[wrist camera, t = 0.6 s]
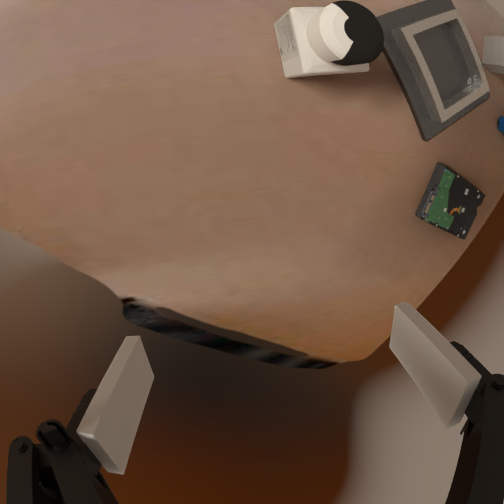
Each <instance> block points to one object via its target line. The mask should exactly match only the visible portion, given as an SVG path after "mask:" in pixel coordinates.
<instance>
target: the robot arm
mask: <svg viewBox="0 0 504 504" xmlns="http://www.w3.org/2000/svg"><path fill="white" fill-rule="evenodd" d="M389 347H390V349H391V350H392V351H393V353H394V354H395V355H396V357H397V358H398V360H399V361H400V362H401V364H402V365H403V367H404V368H405V369H406V371H407V372H408V373H409V375H410V376H411V378H412V379H413V380H414V382H415V383H416V385H417V386H418V388H419V389H420V390H421V392H422V393H423V395H424V396H425V398H426V399H427V401H428V402H429V404H430V405H431V407H432V408H433V410H434V411H435V412H436V414H437V415H438V417H439V418H440V420H441V422H442V423H443V424H444V426H445V428H446V429H447V428H449V427H452V426H454V425H456V424H458V423H460V421H461V419H462V417H463V415H464V413H465V414H466V416H467V417H468V419H467V421H466V423H465V425H464V427H463V428H462V430H461V432H460V434H462V433H463V432H464V436H463V441H462V446H461V451H460V455H459V459H458V463H457V467H456V471H455V474H454V478H453V482H452V484H451V488H450V491H449V494H448V497H447V500H446V503H445V504H503V500H504V375H501V374H493V375H492V374H491V373H490V372H489V371H488V370H487V369H486V368H485V367H484V366H483V365H482V364H481V363H480V362H479V361H478V360H477V359H476V358H474V356H473V355H472V354H471V353H469V351H468V350H467V349H466V348H465V347H464V346H463V345H461V344H459V343H457V342H455V341H453V342H450V343H449V342H448V341H447V340H446V339H445V338H444V337H443V336H442V335H441V334H440V333H439V332H438V331H437V330H436V329H435V328H434V327H433V326H432V325H431V324H430V323H429V322H428V321H427V320H426V319H425V318H424V317H423V316H422V315H421V314H420V313H419V312H417V311H416V310H415V309H414V308H413V307H412V306H411V305H410V304H409V303H408V302H403V303H399V304H395V309H394V317H393V325H392V332H391V339H390V345H389ZM153 379H154V375H153V372H152V370H151V367H150V364H149V361H148V359H147V356H146V353H145V350H144V347H143V344H142V341H141V338H140V336H126V338H125V340H124V342H123V343H122V345H121V347H120V349H119V350H118V352H117V354H116V356H115V358H114V359H113V361H112V363H111V365H110V367H109V368H108V371H107V372H106V374H105V376H104V378H103V380H102V381H101V384H100V385H99V387H98V389H90V390H89V391H88V392H87V393H86V394H85V395H84V396H83V397H82V399H81V401H80V403H79V405H78V407H77V408H76V412H74V414H73V416H72V418H71V420H70V422H69V424H68V425H67V428H66V429H65V427H64V426H63V425H62V423H61V422H60V421H58V420H53V419H52V420H47V421H45V422H43V423H41V425H40V426H39V427H38V428H37V430H36V437H37V438H38V440H39V441H40V442H41V443H42V444H34V443H33V442H32V441H31V439H30V438H28V437H26V436H20V437H17V438H16V439H14V440H13V441H12V443H11V444H10V448H9V456H8V469H7V504H119V503H118V501H117V500H116V498H115V496H114V495H113V493H112V492H111V490H110V488H109V486H108V484H107V482H106V481H105V479H104V477H103V475H102V474H101V473H100V467H101V465H102V466H103V467H104V468H105V469H106V470H107V472H111V473H117V474H124V472H125V468H126V465H127V461H128V458H129V454H130V451H131V448H132V444H133V441H134V438H135V434H136V431H137V428H138V425H139V422H140V418H141V415H142V412H143V409H144V406H145V403H146V400H147V397H148V394H149V391H150V388H151V385H152V382H153ZM464 430H465V431H464Z"/></svg>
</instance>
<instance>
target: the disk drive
mask: <svg viewBox="0 0 504 504" xmlns="http://www.w3.org/2000/svg"><path fill="white" fill-rule="evenodd" d="M484 196H485V195H484V194H483V193H482V192H481V191H480V190H478V189H477V188H476V187H474V186H473V185H472V184H470V183H469V182H468V181H466V180H465V179H464V178H462V177H461V176H460V175H458V174H457V173H456V172H454V171H453V170H451V169H450V168H448V167H447V166H445V165H443V164H441V163H437V165H436V167H435V170H434V172H433V175H432V177H431V179H430V182H429V184H428V187H427V189H426V191H425V194H424V196H423V198H422V200H421V203H420V205H419V207H418V209H417V211H416V213H415V215H416V216H417V217H419V218H420V219H422V220H424V221H426V222H428V223H429V224H431V225H434V226H436V227H438V228H441V229H443V230H445V231H447V232H449V233H451V234H453V235H455V236H457V237H459V238H462V239H465V238H466V236H467V234H468V232H469V229H470V227H471V225H472V223H473V221H474V219H475V217H476V215H477V214H476V213H477V207H478V206H479V205H481V203H482V201H483V199H484Z"/></svg>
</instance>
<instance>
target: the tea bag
mask: <svg viewBox="0 0 504 504" xmlns="http://www.w3.org/2000/svg"><path fill="white" fill-rule="evenodd" d="M482 64H483V65H484V66H486V67H487V68H488V69H489V70H490V71H491V72H492V73H498V74H504V36H494V35H484V48H483V59H482Z"/></svg>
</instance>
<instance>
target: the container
mask: <svg viewBox="0 0 504 504" xmlns="http://www.w3.org/2000/svg"><path fill="white" fill-rule="evenodd" d="M274 27H275V31H276V36H277V41H278V45H279V50H280V55H281V60H282V65H283V70H284V75H285V77H286V78H295V77H305V76H316V75H331V74H345V73H356V72H367V71H369V62H371V61H373V60H375V59H376V58H377V57H378V56H379V55H380V53H381V51H382V49H383V45H384V34H383V30H382V27H381V25H380V23H379V21H378V20H377V18H376V17H375V16H374V14H373V13H372V12H371V11H369V10H368V9H367V8H366V7H364V6H362V5H360V4H358V3H355V2H352V1H337V2H334V3H331V4H330V5H328V6H326V7H293V8H291V9H290V10H288V11H287V12H286V13H285V14H284V15H283V16H282V17H281V18H280V19H279V20H278V21H277V22H276V23H275V24H274Z"/></svg>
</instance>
